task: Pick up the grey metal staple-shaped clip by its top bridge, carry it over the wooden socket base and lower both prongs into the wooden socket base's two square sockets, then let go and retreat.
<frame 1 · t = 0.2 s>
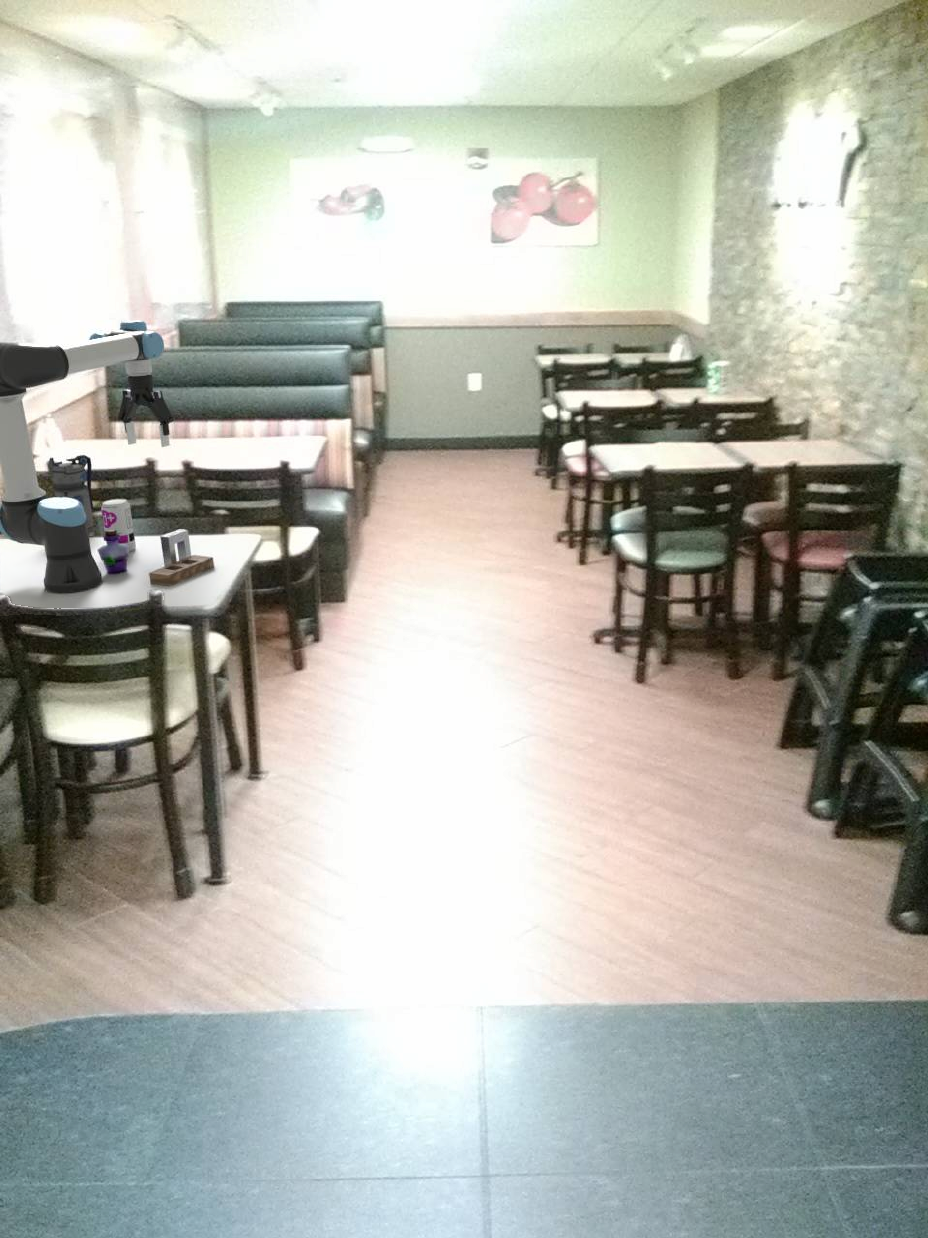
hand: (148, 445, 349), 29 cm above the table, fingers open, 13 cm apart
potion bottle: (117, 572, 324), on the table
supplement can: (122, 551, 345), on the table
clip: (178, 565, 327), on the table
dark grey lidded pitcher: (81, 533, 368), on the table
wooden socket base: (182, 575, 318), on the table
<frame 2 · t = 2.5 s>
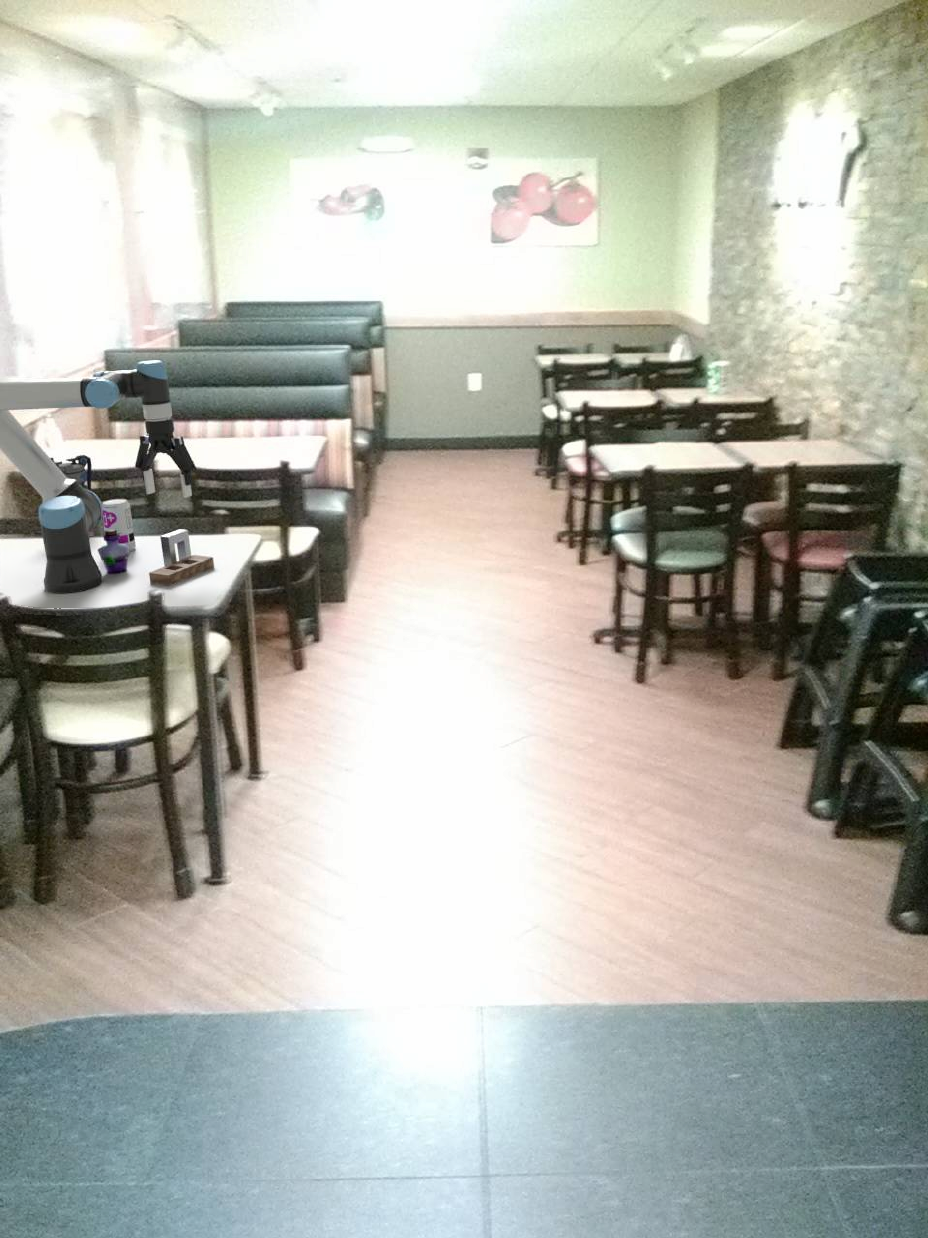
hand: (169, 494, 320), 20 cm above the table, fingers open, 13 cm apart
nothing on the table moved.
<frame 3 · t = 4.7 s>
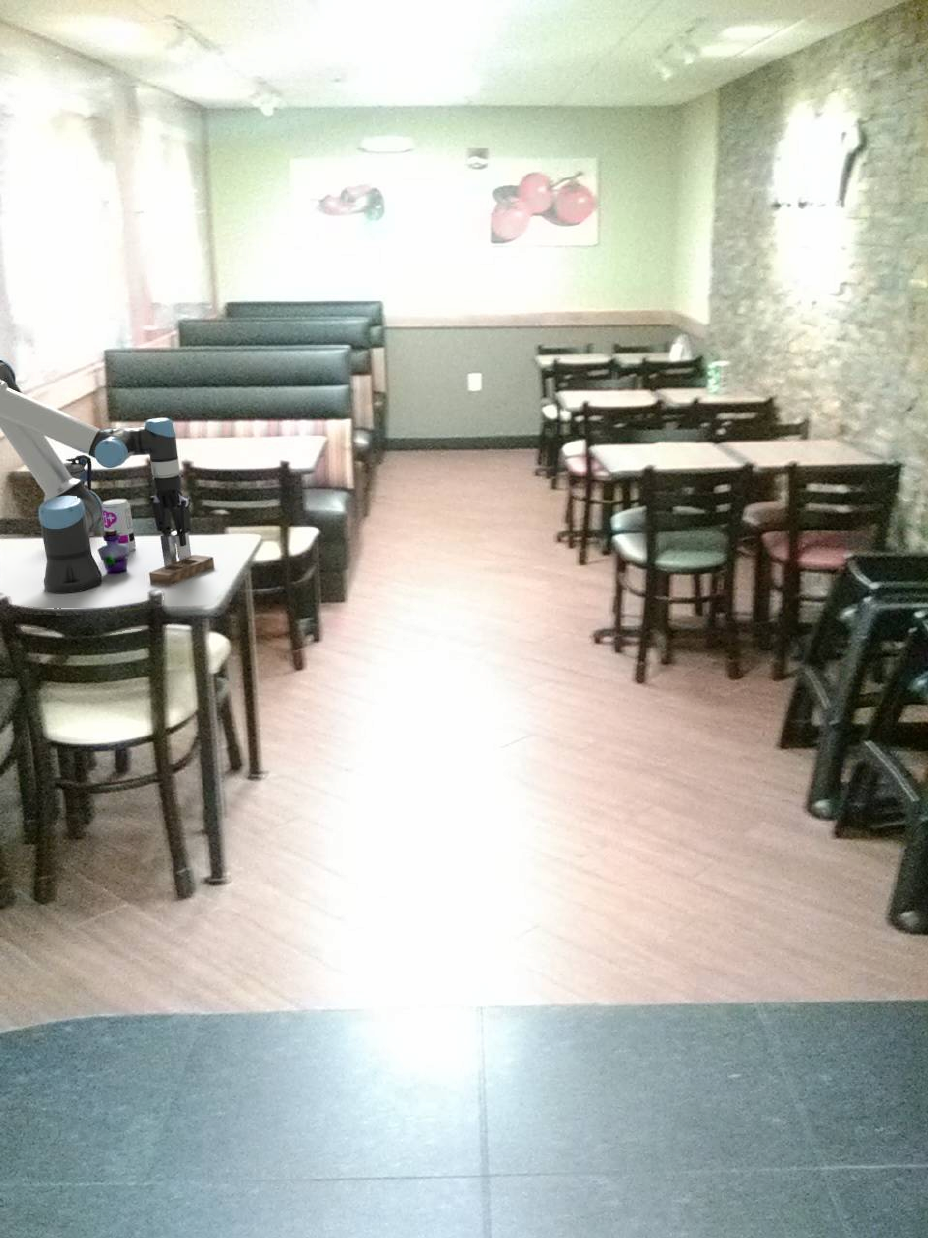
hand: (177, 555, 326), 3 cm above the table, fingers closed on clip, 3 cm apart
clip: (178, 565, 327), on the table, touching gripper
everything else where it was.
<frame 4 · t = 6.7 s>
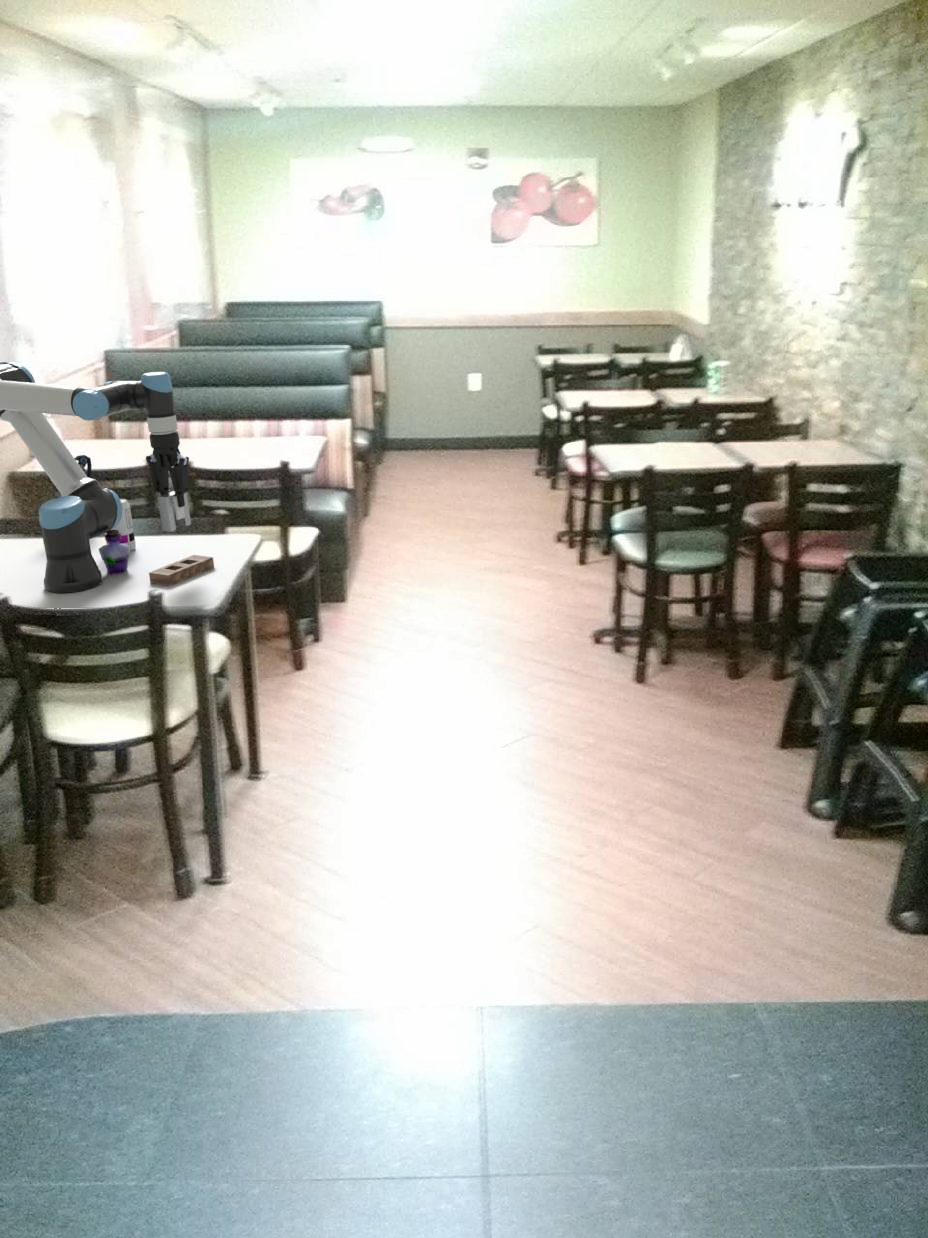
hand: (175, 517, 312), 16 cm above the table, fingers closed on clip, 3 cm apart
potion bottle: (117, 571, 324), on the table, touching arm
clip: (176, 527, 313), point 14 cm above the table, touching gripper
everything else where it was.
when the fingers open (5 cm above the table, at t = 8.5 s): clip drops 1 cm, resting on wooden socket base.
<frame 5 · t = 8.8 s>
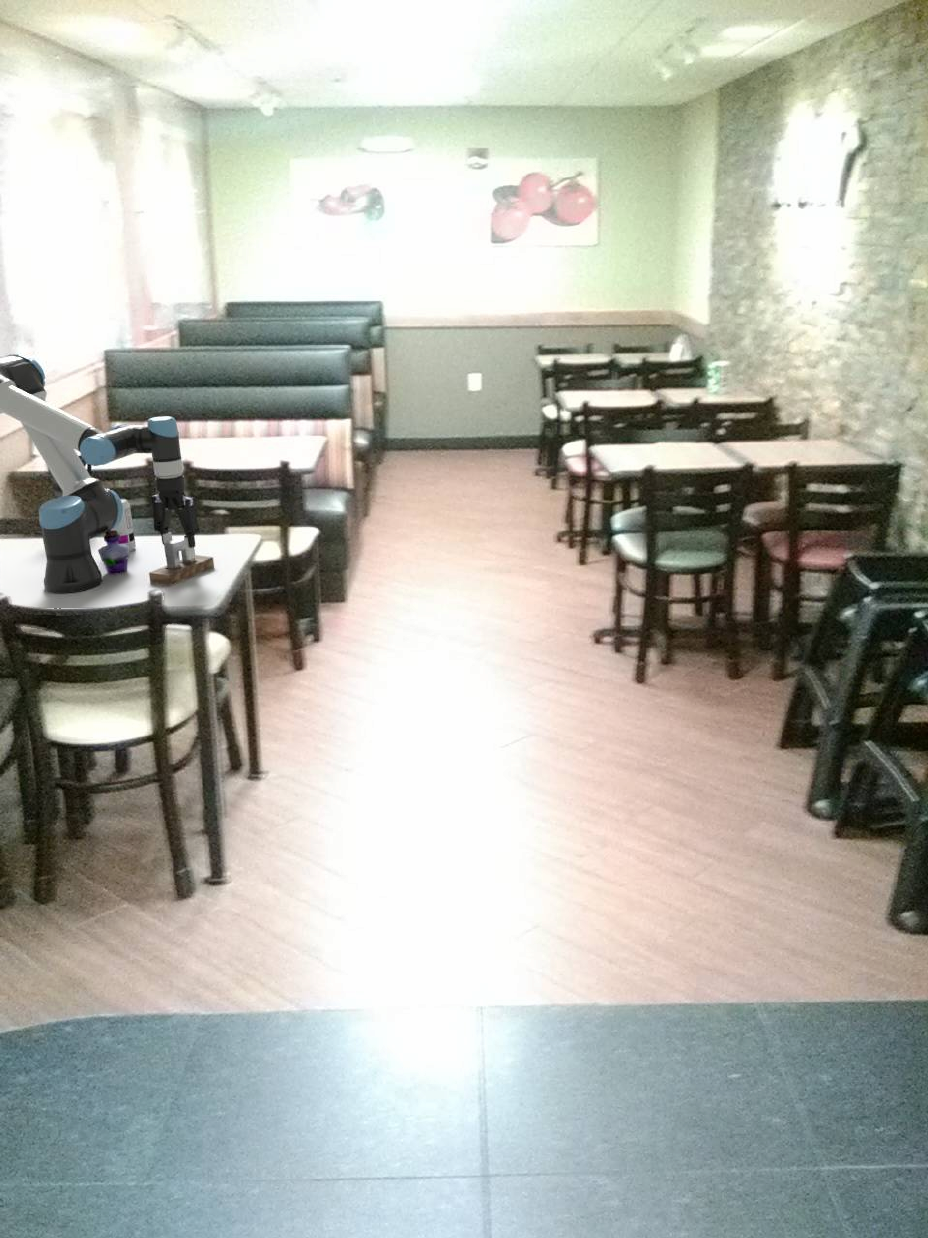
hand: (180, 557, 316), 5 cm above the table, fingers open, 7 cm apart
clip: (182, 573, 317), resting on wooden socket base
everything else where it was.
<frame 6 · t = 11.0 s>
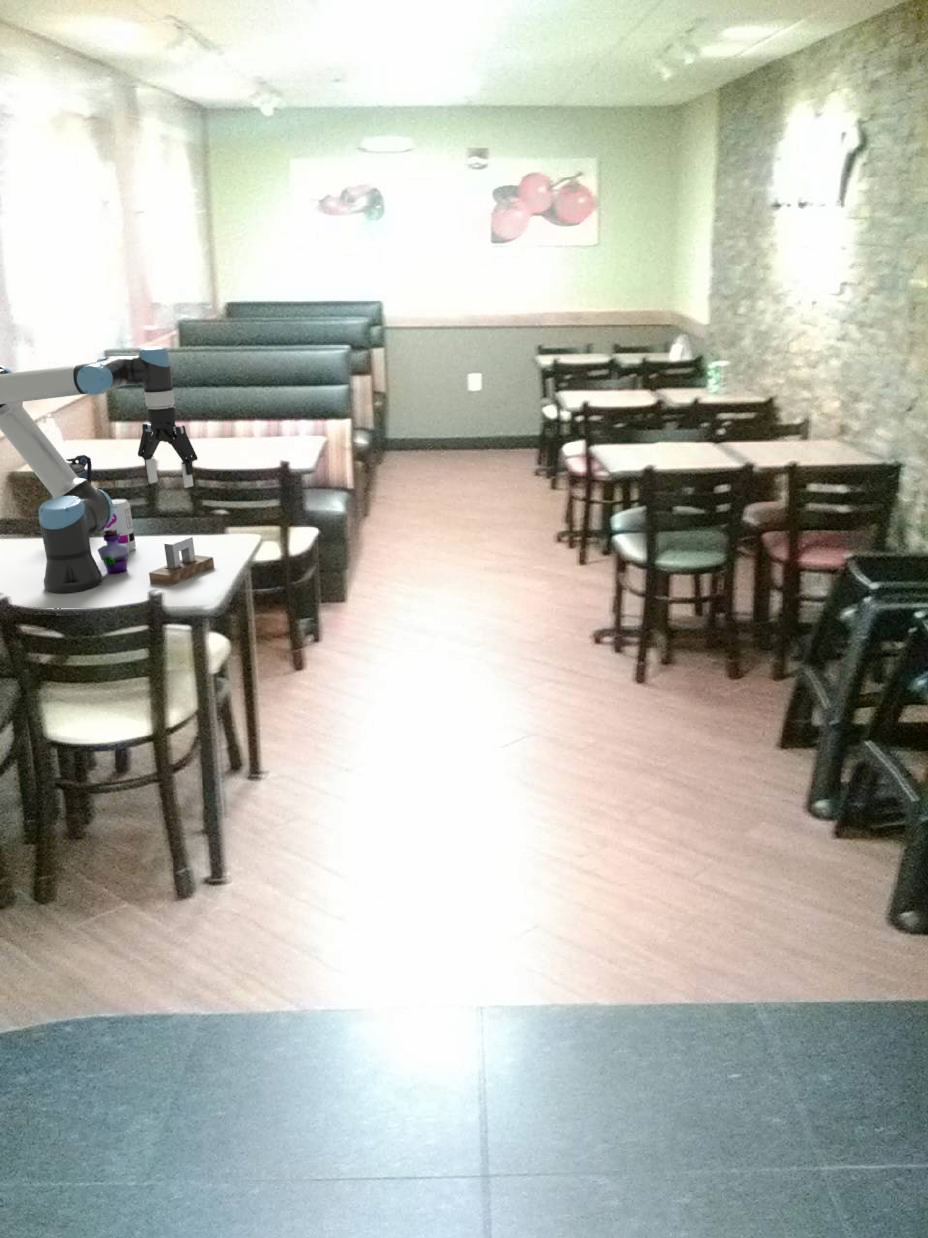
hand: (170, 484, 314), 24 cm above the table, fingers open, 13 cm apart
potion bottle: (117, 572, 324), on the table
everything else where it was.
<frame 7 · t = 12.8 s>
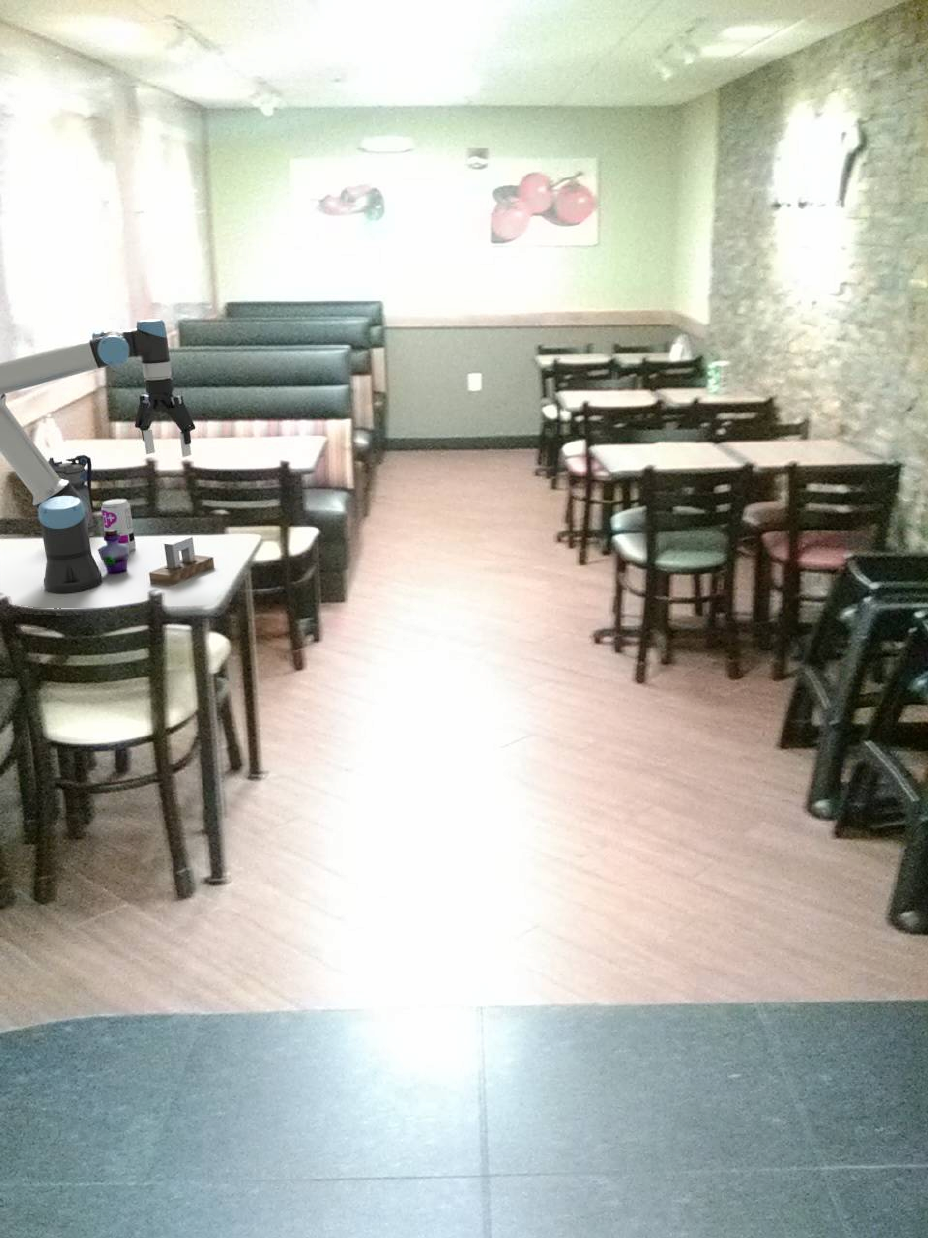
hand: (168, 454, 322), 31 cm above the table, fingers open, 13 cm apart
nothing on the table moved.
at the end: clip 0.1 cm off-centre on the wooden socket base, point 0.5 cm above the wooden socket base's base; clip tilted 0°; the gripper is holding nothing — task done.
